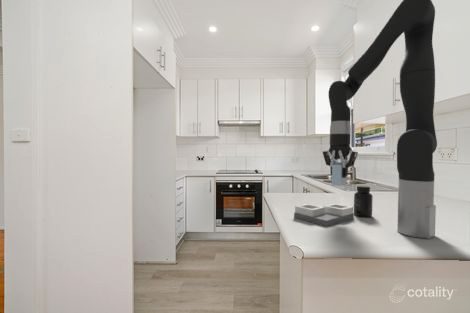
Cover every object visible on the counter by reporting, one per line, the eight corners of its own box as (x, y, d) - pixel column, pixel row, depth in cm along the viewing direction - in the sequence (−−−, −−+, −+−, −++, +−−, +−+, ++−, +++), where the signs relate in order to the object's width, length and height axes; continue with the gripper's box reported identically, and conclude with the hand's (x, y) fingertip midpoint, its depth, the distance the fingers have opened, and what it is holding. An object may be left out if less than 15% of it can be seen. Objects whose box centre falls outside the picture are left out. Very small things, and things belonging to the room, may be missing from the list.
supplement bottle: (375, 217, 99) (376, 187, 99) (358, 217, 99) (359, 187, 99) (366, 213, 106) (367, 185, 106) (350, 213, 106) (351, 185, 106)
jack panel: (353, 218, 98) (353, 206, 98) (326, 226, 86) (326, 213, 86) (322, 211, 109) (322, 201, 109) (294, 217, 98) (294, 206, 97)
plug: (345, 185, 98) (346, 162, 98) (340, 185, 96) (341, 162, 95) (336, 184, 101) (337, 161, 101) (331, 184, 99) (332, 162, 98)
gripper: (363, 133, 94) (361, 178, 95) (329, 134, 106) (327, 175, 106) (353, 132, 90) (351, 179, 90) (318, 133, 101) (317, 175, 102)
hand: (338, 176), depth 98 cm, fingers closed on plug, 3 cm apart
